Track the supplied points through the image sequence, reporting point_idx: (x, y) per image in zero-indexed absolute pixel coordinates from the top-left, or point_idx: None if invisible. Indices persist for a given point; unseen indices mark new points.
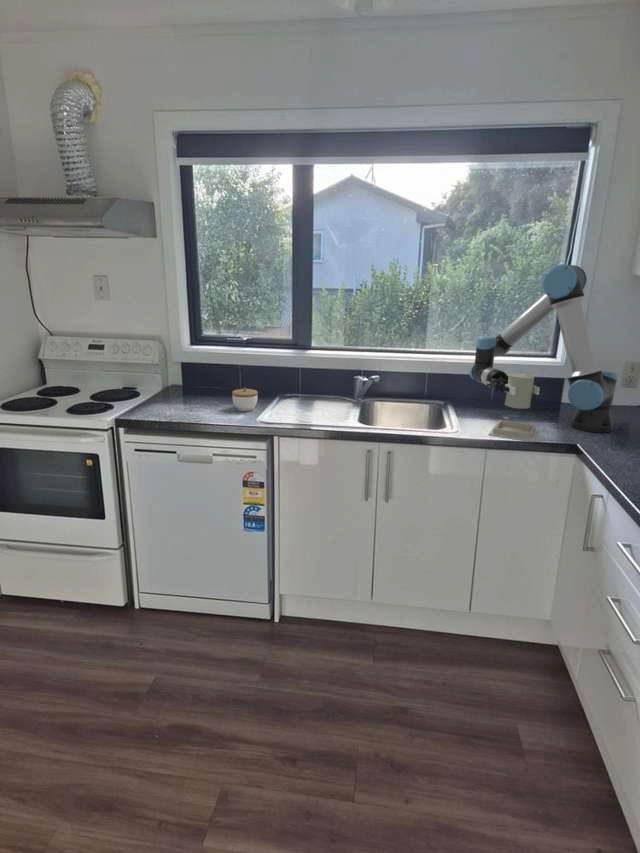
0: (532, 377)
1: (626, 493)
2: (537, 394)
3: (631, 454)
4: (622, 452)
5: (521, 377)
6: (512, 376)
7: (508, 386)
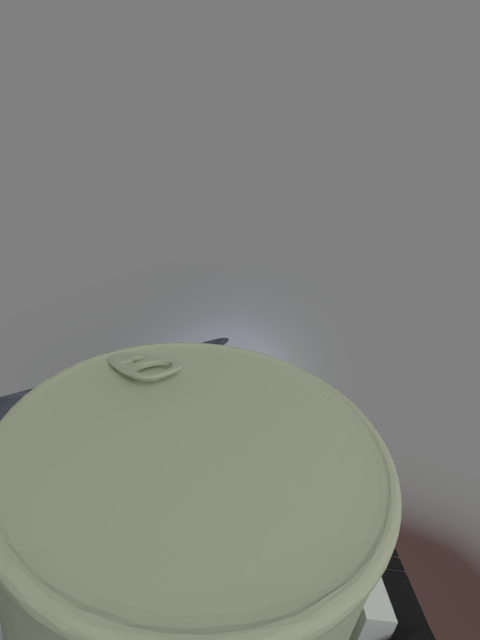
0: (157, 347)
1: (226, 339)
2: None
3: (6, 396)
4: (6, 408)
5: (273, 371)
6: (363, 415)
7: None
